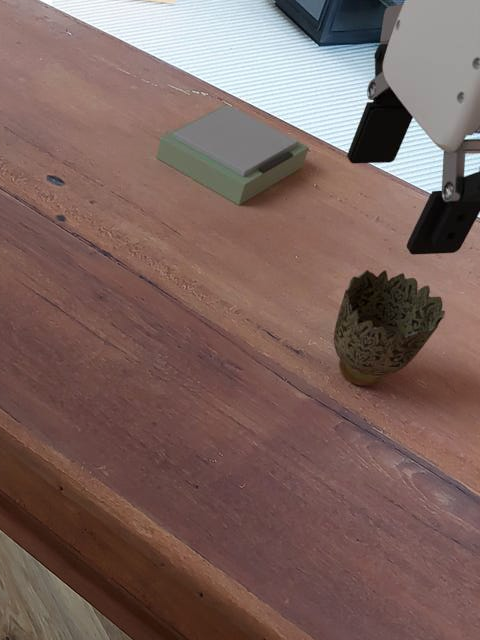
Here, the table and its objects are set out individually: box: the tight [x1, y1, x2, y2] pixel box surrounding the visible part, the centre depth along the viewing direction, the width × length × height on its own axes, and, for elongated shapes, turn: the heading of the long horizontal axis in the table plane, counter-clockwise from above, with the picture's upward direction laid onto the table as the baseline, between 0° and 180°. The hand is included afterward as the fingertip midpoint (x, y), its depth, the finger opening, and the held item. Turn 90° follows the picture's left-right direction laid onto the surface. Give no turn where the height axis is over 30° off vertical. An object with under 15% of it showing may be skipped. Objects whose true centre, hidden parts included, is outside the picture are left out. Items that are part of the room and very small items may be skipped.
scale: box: [156, 104, 310, 206], centre depth 93 cm, size 11×11×3 cm
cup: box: [333, 269, 446, 387], centre depth 71 cm, size 8×7×8 cm
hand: (398, 203), depth 56 cm, fingers open, 9 cm apart
